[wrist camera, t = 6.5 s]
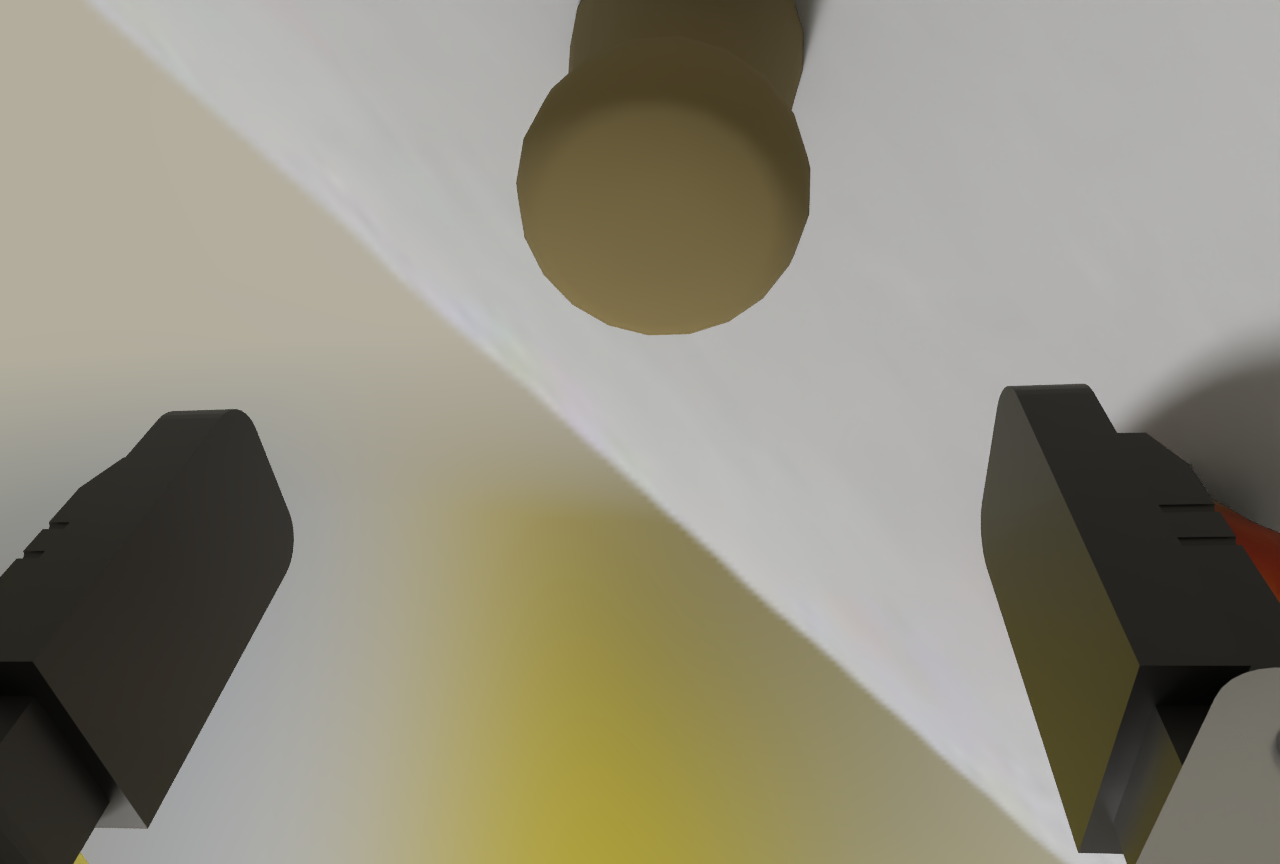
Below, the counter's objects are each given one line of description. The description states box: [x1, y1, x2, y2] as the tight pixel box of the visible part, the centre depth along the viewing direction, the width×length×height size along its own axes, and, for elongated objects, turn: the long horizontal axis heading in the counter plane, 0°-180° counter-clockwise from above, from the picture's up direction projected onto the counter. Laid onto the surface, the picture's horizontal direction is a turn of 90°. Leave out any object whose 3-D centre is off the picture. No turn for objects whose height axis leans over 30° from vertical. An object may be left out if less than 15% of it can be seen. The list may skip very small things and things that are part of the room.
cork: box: [516, 0, 810, 335], centre depth 20 cm, size 6×6×11 cm
